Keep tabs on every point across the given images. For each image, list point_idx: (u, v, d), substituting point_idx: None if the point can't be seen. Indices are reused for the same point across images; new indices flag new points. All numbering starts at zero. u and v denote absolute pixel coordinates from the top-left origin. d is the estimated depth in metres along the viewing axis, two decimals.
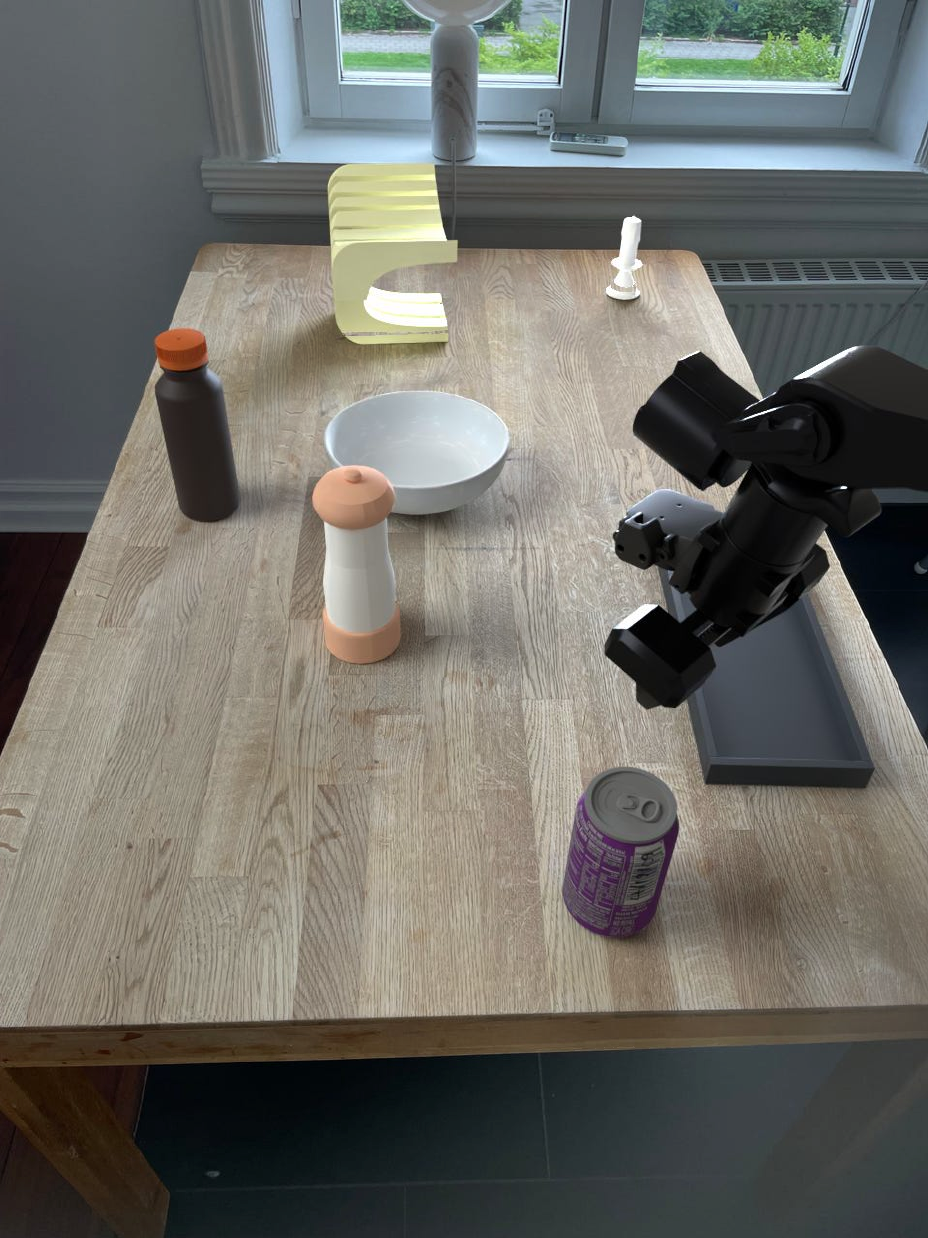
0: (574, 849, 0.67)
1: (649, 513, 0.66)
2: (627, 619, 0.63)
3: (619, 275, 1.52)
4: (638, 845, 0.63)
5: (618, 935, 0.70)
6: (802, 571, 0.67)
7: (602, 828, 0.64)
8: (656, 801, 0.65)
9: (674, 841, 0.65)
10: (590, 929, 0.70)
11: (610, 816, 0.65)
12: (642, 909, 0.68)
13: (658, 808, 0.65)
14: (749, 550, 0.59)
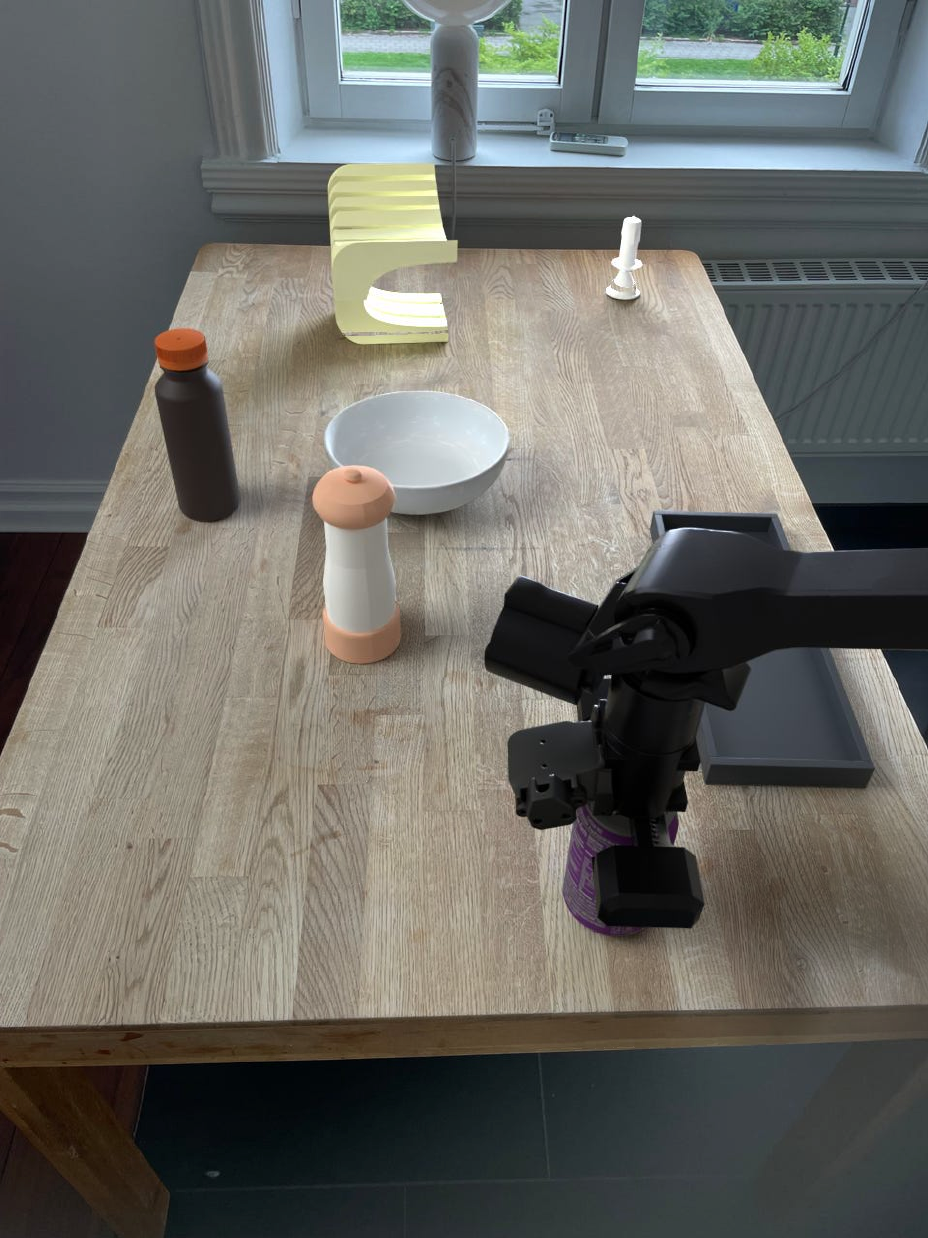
0: (574, 846, 0.67)
1: (530, 770, 0.61)
2: (602, 881, 0.58)
3: (619, 275, 1.52)
4: None
5: (619, 933, 0.70)
6: None
7: (602, 822, 0.64)
8: None
9: (674, 836, 0.65)
10: (591, 928, 0.70)
11: None
12: None
13: None
14: (645, 748, 0.57)
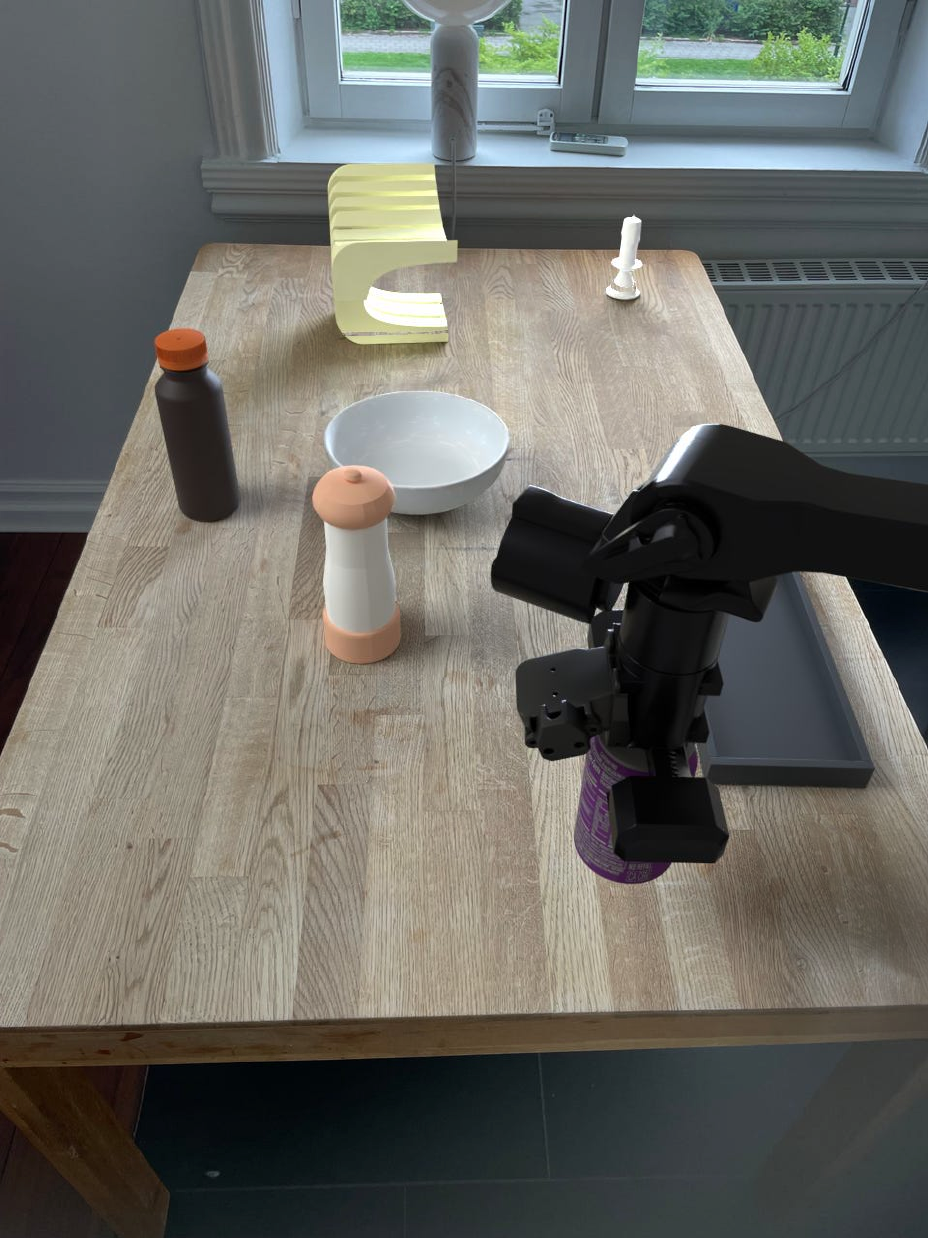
0: (586, 786, 0.63)
1: (540, 698, 0.57)
2: (619, 812, 0.54)
3: (619, 275, 1.52)
4: None
5: (634, 881, 0.66)
6: None
7: (616, 756, 0.60)
8: None
9: (693, 772, 0.61)
10: (604, 876, 0.66)
11: None
12: None
13: None
14: (664, 668, 0.53)
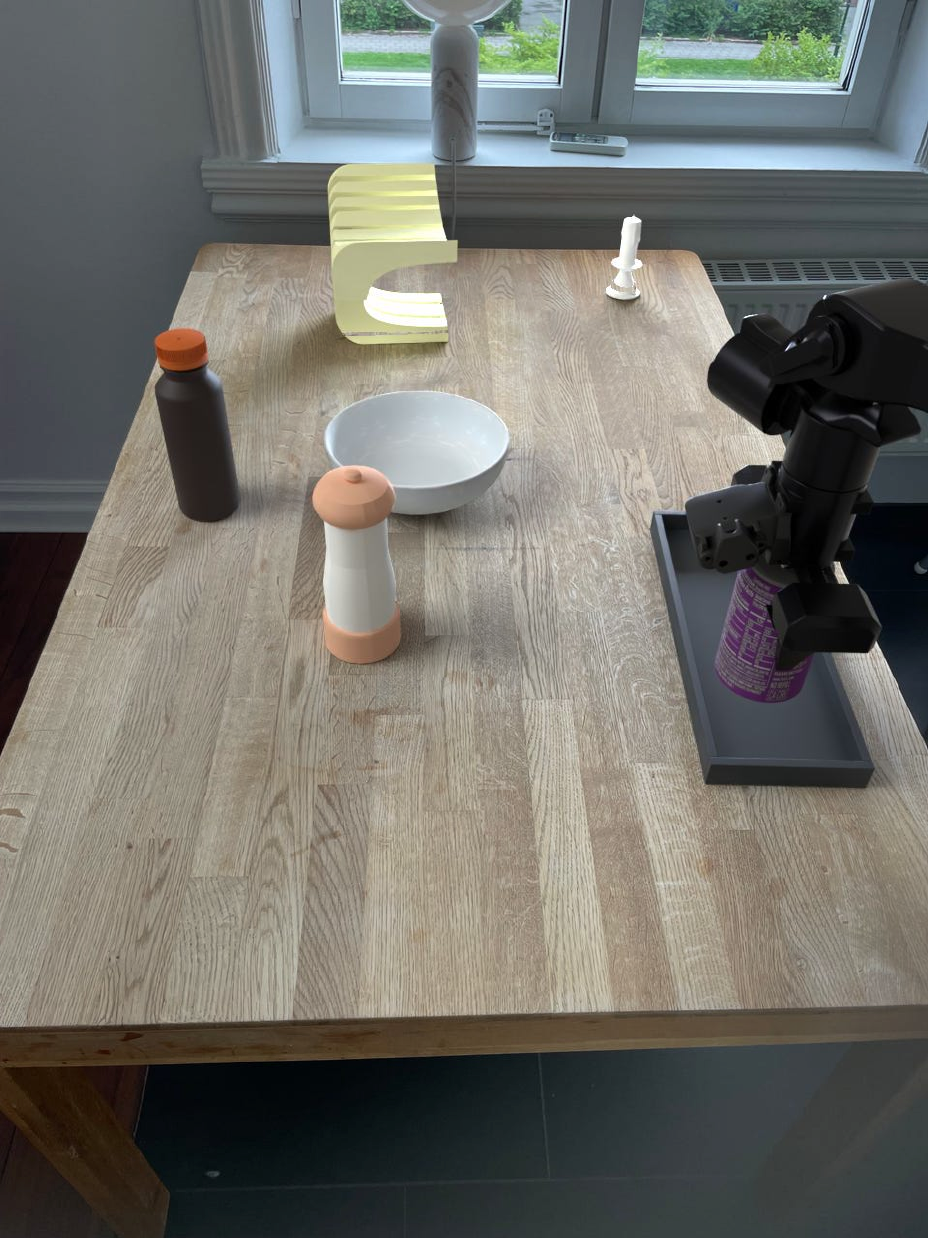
0: (736, 613, 0.73)
1: (711, 522, 0.67)
2: (787, 610, 0.64)
3: (619, 275, 1.52)
4: None
5: (773, 700, 0.76)
6: None
7: (770, 578, 0.70)
8: None
9: None
10: (746, 696, 0.76)
11: (774, 572, 0.71)
12: (798, 670, 0.74)
13: None
14: (801, 477, 0.64)
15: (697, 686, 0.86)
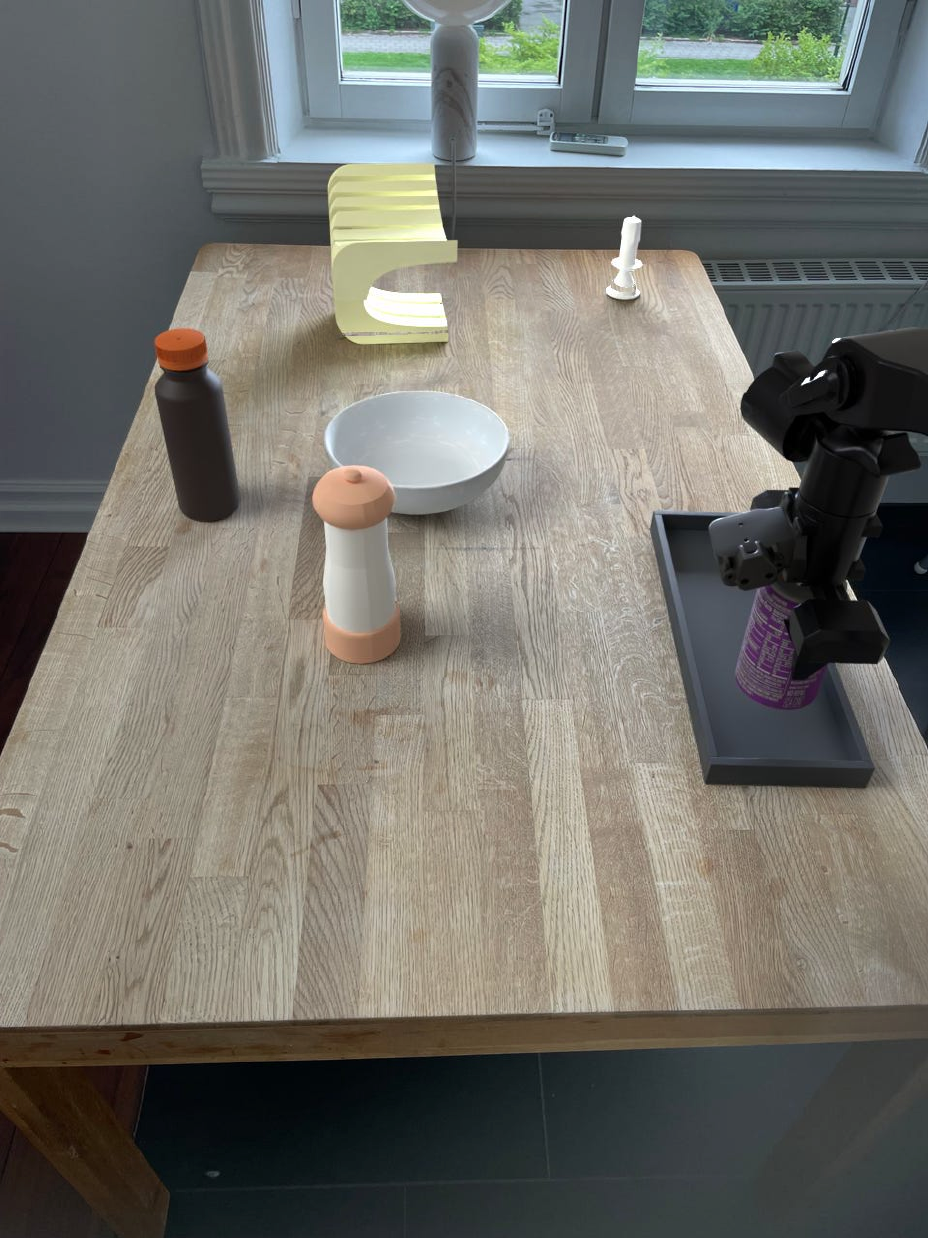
0: (756, 626, 0.80)
1: (733, 544, 0.74)
2: (803, 625, 0.70)
3: (619, 275, 1.52)
4: None
5: (790, 707, 0.82)
6: None
7: (787, 594, 0.76)
8: None
9: None
10: (765, 703, 0.82)
11: (791, 589, 0.77)
12: (813, 679, 0.80)
13: None
14: (812, 500, 0.70)
15: (697, 686, 0.86)
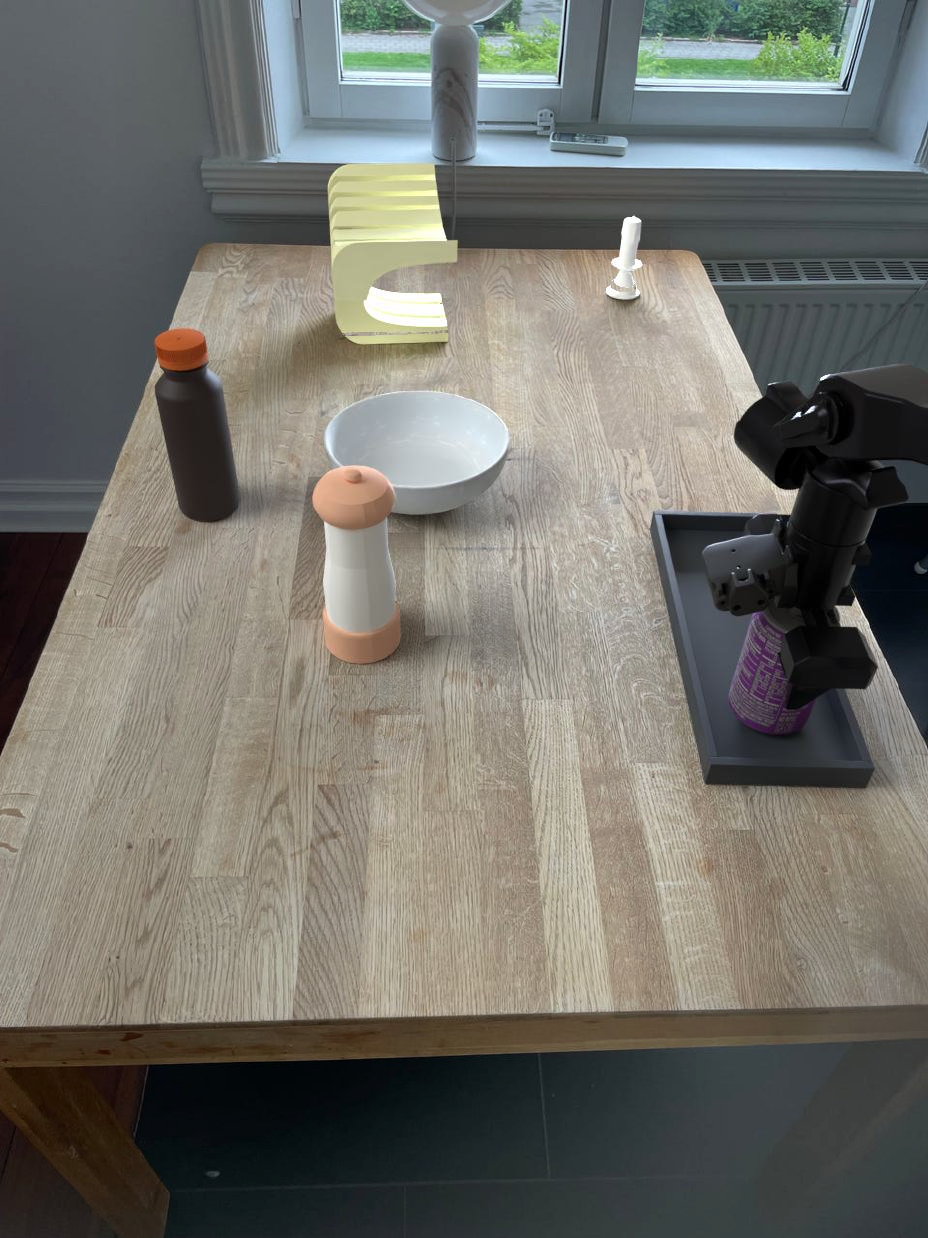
0: (749, 654, 0.81)
1: (726, 570, 0.75)
2: (793, 651, 0.72)
3: (619, 275, 1.52)
4: None
5: (781, 731, 0.84)
6: None
7: (781, 627, 0.78)
8: None
9: None
10: (757, 728, 0.84)
11: (785, 620, 0.79)
12: (804, 706, 0.82)
13: None
14: (803, 529, 0.72)
15: (697, 686, 0.86)
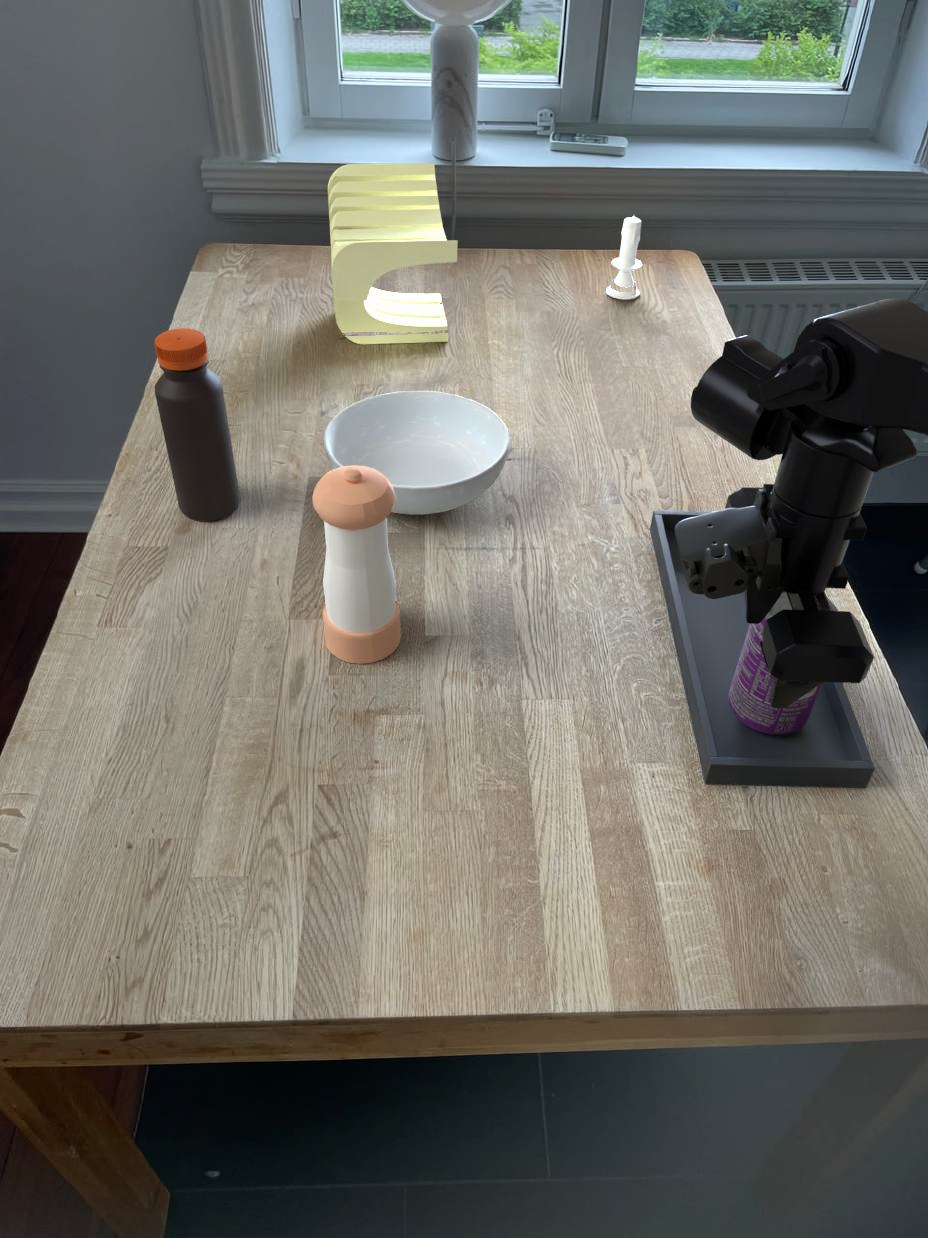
0: (749, 654, 0.81)
1: (701, 547, 0.66)
2: (776, 638, 0.63)
3: (619, 275, 1.52)
4: None
5: (781, 731, 0.84)
6: None
7: None
8: None
9: None
10: (757, 728, 0.84)
11: None
12: (804, 706, 0.82)
13: None
14: (795, 503, 0.62)
15: (697, 686, 0.86)
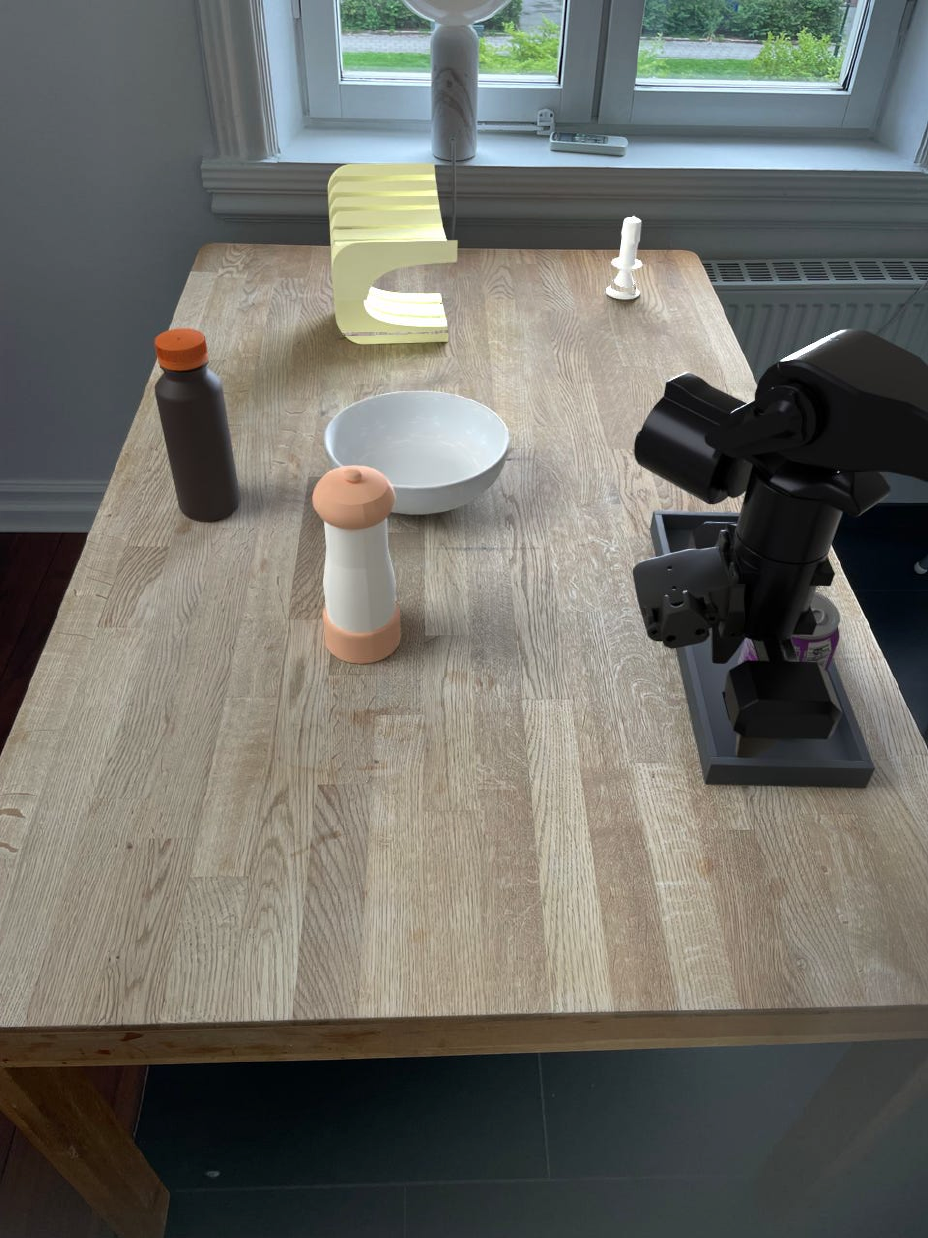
0: (749, 654, 0.81)
1: (659, 592, 0.62)
2: (739, 692, 0.59)
3: (619, 275, 1.52)
4: (811, 641, 0.77)
5: None
6: None
7: None
8: (821, 610, 0.79)
9: (837, 642, 0.79)
10: None
11: None
12: None
13: (824, 614, 0.79)
14: (765, 551, 0.58)
15: (697, 686, 0.86)
